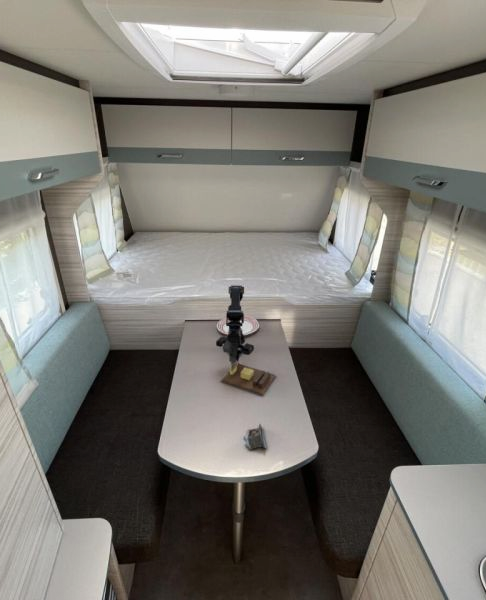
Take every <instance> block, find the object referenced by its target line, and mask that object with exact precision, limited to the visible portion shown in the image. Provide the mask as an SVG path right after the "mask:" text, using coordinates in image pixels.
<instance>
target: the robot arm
mask: <svg viewBox="0 0 486 600" xmlns="http://www.w3.org/2000/svg"><path fill="white" fill-rule="evenodd" d="M227 292H228V295H229V298H230V300H231V301H230V304H229V305H228V306H227V307H228V308H227V310H226V317H225V318H226V326H229V330H228V335H227V336H226V337H225V336H220V337H219V338H218V339H217V340H216V341H215V345H216V347H219V348H222V351H223V353H226V354H228V355H229V356H230V355H231V354H232V353H233V352H236V353H237V361H238V360H239V361H240V358H241V356H242V355H243V354H244V355H246V356H250V355H251V354H252V353H253V352H254V351H255V346H254V344H251V343H246V335H244V334H243V330H242V329H241V326H242V325H243V323H244V316H245V313H244V311H242V306H241V301H242V300H243V298H244V295H245V286H243V285H237V284H235V285H230V286H228V291H227ZM228 320H229V321H230V322H228ZM240 321H241V322H240Z"/></svg>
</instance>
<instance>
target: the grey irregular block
mask: <svg viewBox="0 0 486 600" xmlns="http://www.w3.org/2000/svg"><path fill="white" fill-rule="evenodd" d="M244 438H245V444H246V446H247V447H248V448H249V450H252V449H257V448H261V447H263V449H267V446H266V442H265V437H264V431H263V428H262V424H261V423H259V425H258V427H256V428H253V429H250V430H248V432H246V433H245V436H244Z"/></svg>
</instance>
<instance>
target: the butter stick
mask: <svg viewBox="0 0 486 600" xmlns="http://www.w3.org/2000/svg"><path fill="white" fill-rule="evenodd" d="M253 375H254V370H251V369H248V368H244V369H243V370H242V371H241V378H244V379H247V380H250V379H251V378H252V377H253Z"/></svg>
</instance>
